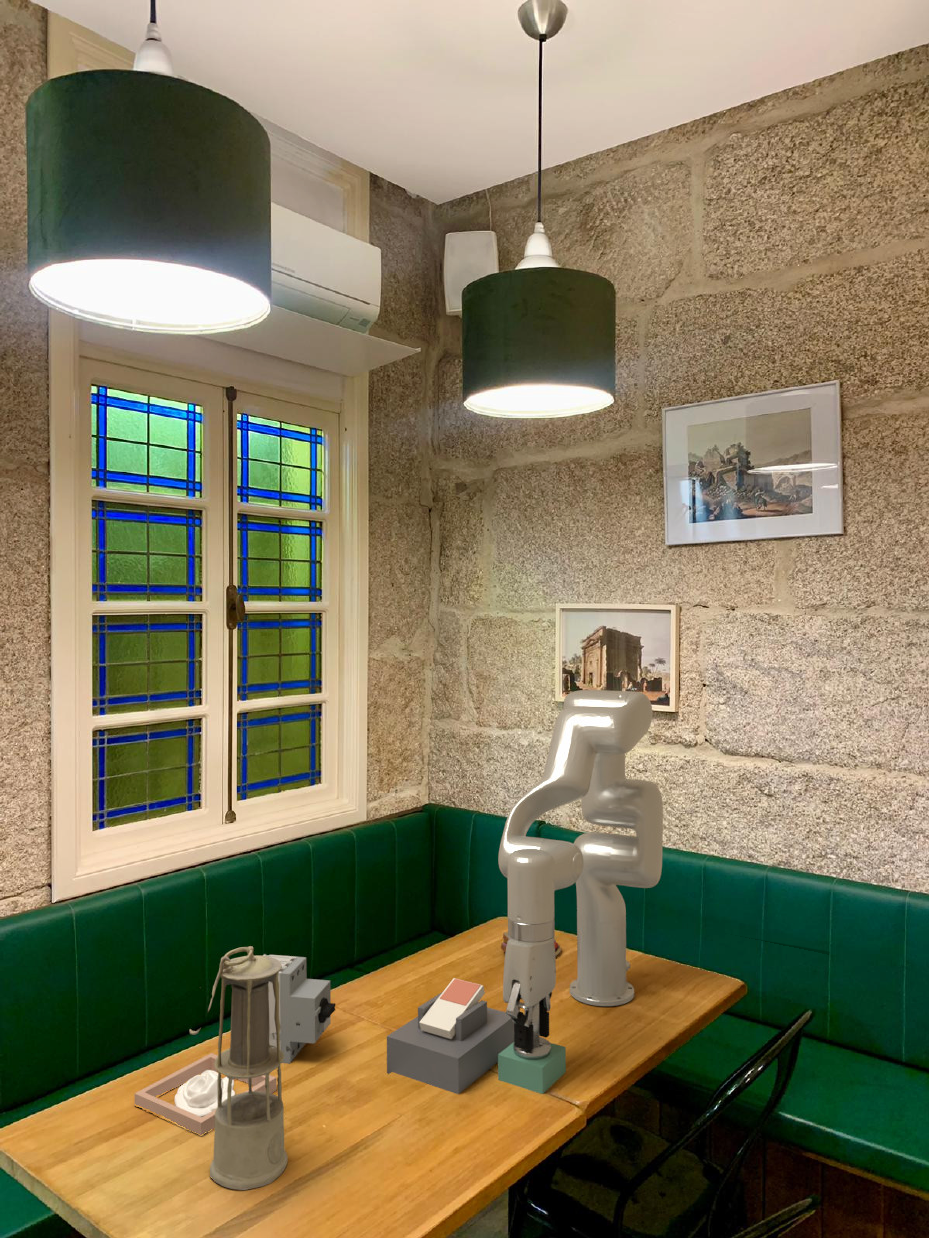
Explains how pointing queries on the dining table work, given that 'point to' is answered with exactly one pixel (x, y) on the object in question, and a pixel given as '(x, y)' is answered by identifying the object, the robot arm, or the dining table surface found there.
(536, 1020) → the metal knob
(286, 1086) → the dining table surface
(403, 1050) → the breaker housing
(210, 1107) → the rose
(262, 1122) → the lamp
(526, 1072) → the stylus holder
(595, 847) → the robot arm
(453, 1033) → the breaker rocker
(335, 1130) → the dining table surface
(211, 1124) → the pink square frame
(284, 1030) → the circuit breaker
